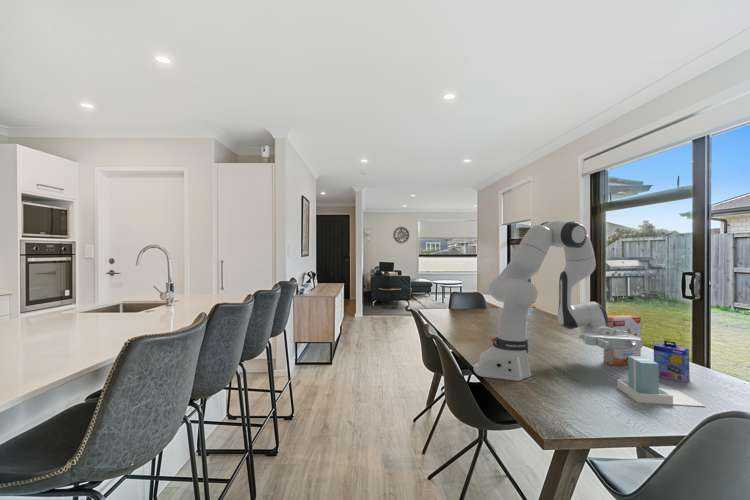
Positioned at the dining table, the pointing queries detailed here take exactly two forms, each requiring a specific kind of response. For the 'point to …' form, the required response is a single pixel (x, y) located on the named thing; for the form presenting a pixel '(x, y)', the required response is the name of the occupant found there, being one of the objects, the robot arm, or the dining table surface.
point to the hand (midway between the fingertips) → (621, 345)
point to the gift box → (643, 375)
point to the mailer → (658, 396)
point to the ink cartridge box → (672, 361)
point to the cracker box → (632, 327)
